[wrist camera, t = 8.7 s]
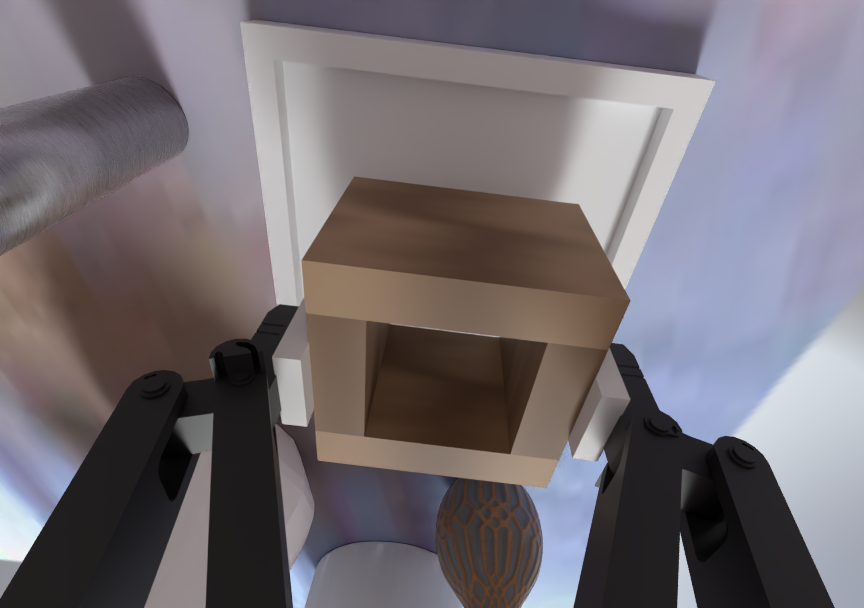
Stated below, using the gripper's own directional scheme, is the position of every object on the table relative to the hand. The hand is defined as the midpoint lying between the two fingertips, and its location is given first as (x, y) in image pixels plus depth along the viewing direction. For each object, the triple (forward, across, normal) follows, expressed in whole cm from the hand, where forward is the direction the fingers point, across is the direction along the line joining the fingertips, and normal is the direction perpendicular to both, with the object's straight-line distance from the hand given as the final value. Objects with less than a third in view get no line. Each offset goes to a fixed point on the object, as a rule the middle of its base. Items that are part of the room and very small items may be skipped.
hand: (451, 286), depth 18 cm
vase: (+4, +5, -19) cm, 20 cm away
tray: (+4, 0, 0) cm, 4 cm away
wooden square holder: (0, 0, 0) cm, 0 cm away
